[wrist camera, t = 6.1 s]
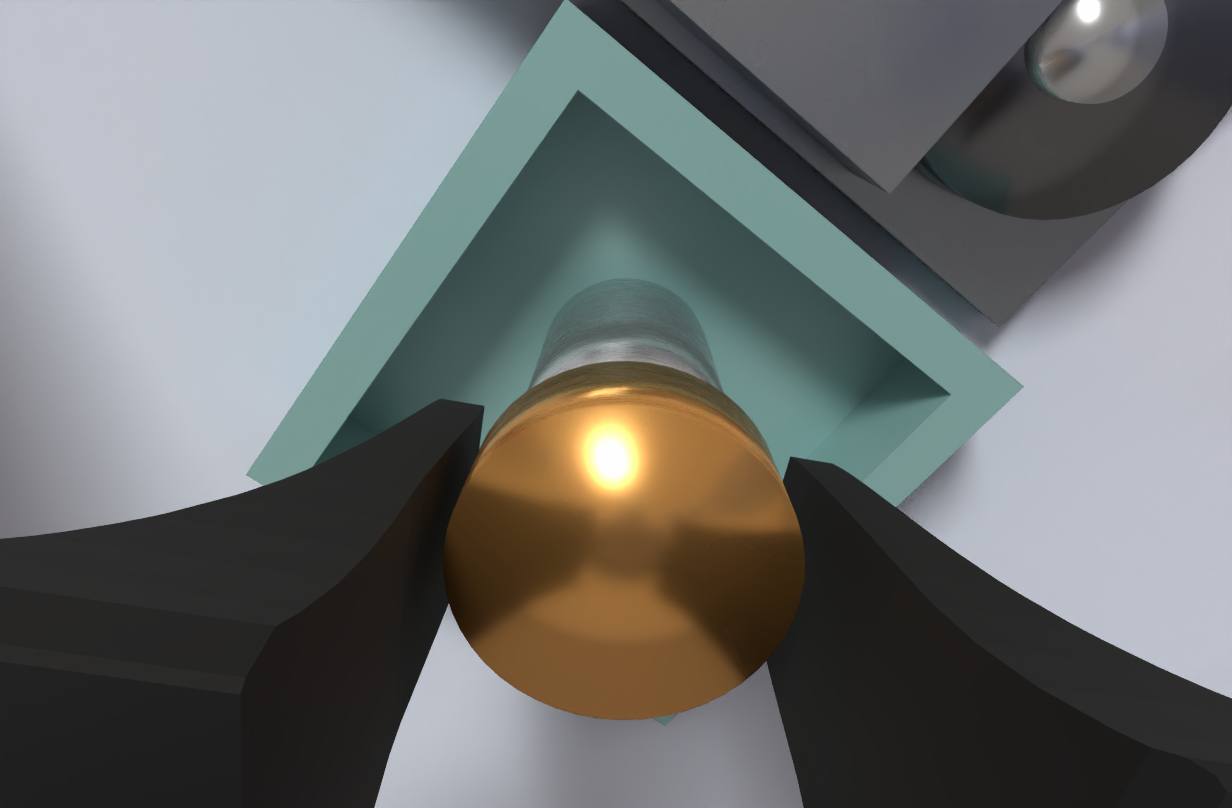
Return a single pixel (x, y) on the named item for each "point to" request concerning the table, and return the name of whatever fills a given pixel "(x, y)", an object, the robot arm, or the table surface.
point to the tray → (648, 250)
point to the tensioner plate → (972, 112)
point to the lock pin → (624, 520)
